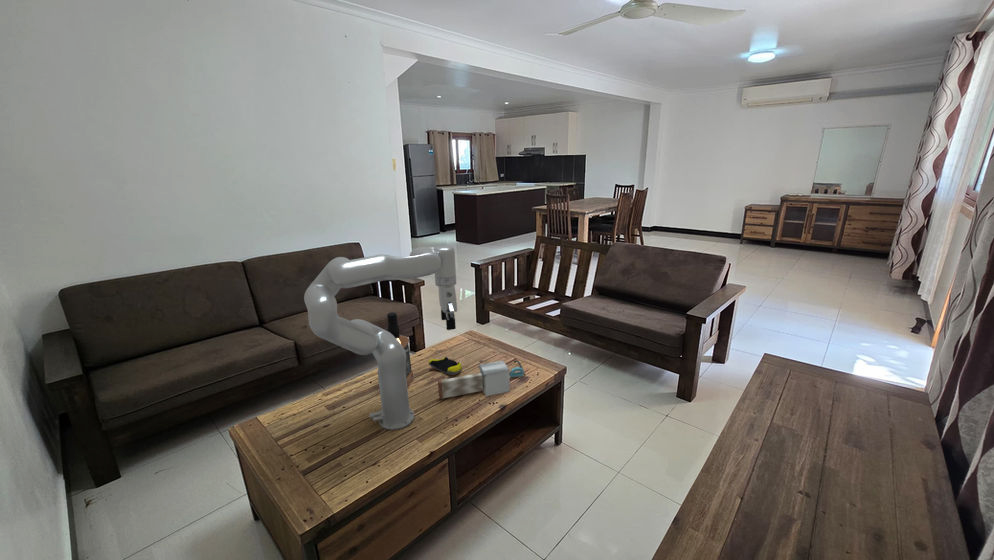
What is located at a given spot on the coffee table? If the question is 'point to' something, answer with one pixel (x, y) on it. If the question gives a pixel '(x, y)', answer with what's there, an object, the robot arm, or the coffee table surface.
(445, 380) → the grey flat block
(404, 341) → the whiskey bottle
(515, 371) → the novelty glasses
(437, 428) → the coffee table surface
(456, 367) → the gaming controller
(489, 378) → the block
